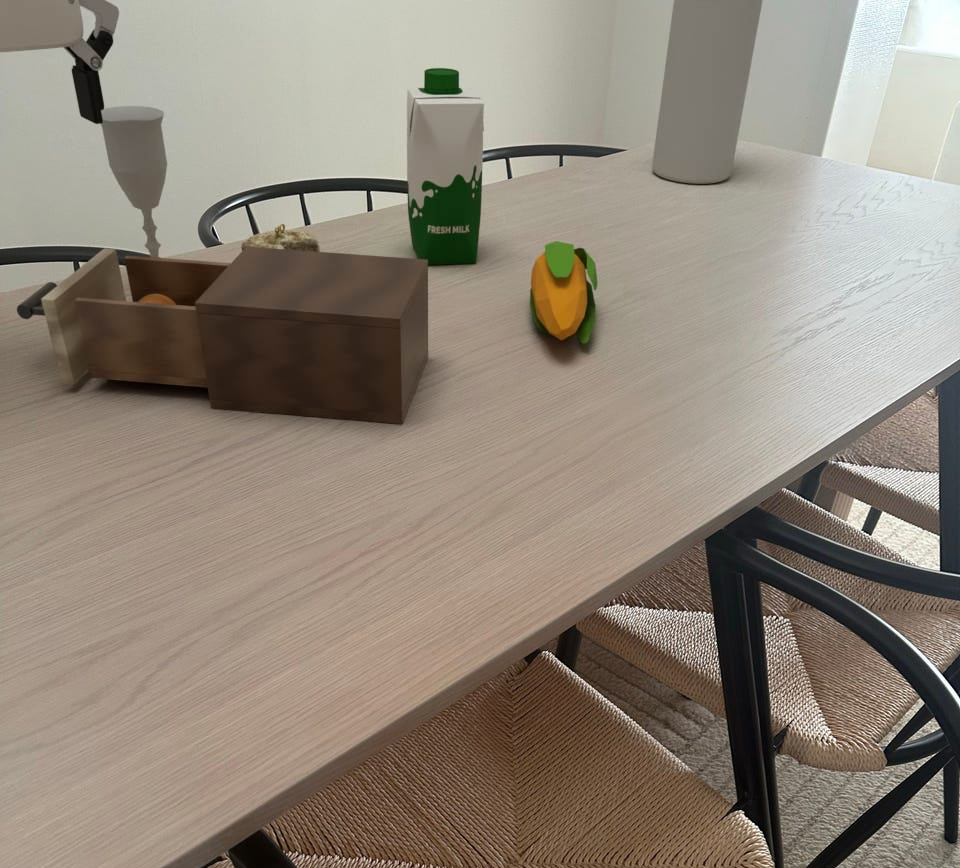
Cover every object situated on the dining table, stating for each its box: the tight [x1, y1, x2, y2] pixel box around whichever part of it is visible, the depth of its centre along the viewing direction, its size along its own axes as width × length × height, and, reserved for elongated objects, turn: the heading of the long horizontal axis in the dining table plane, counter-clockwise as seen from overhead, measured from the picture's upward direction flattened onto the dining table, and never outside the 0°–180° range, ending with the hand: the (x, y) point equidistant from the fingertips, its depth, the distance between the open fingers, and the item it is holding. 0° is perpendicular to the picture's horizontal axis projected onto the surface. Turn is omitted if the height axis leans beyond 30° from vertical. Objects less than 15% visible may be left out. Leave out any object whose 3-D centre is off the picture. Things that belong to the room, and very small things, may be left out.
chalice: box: [100, 105, 168, 258], centre depth 107 cm, size 7×7×18 cm
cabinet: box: [195, 247, 429, 425], centre depth 92 cm, size 18×15×10 cm
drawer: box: [16, 247, 232, 389], centre depth 94 cm, size 22×14×8 cm, turn 83°
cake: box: [240, 223, 321, 252], centre depth 117 cm, size 10×10×5 cm
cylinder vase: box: [651, 0, 763, 185], centre depth 149 cm, size 12×12×25 cm
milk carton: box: [406, 67, 485, 266], centre depth 118 cm, size 9×9×20 cm
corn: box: [529, 240, 598, 344], centre depth 105 cm, size 7×8×20 cm
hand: (37, 127), depth 84 cm, fingers open, 9 cm apart
